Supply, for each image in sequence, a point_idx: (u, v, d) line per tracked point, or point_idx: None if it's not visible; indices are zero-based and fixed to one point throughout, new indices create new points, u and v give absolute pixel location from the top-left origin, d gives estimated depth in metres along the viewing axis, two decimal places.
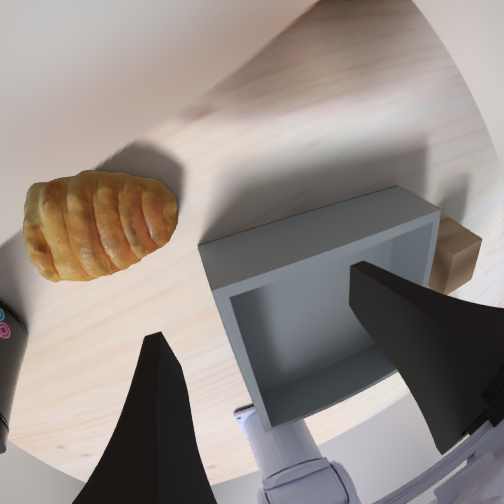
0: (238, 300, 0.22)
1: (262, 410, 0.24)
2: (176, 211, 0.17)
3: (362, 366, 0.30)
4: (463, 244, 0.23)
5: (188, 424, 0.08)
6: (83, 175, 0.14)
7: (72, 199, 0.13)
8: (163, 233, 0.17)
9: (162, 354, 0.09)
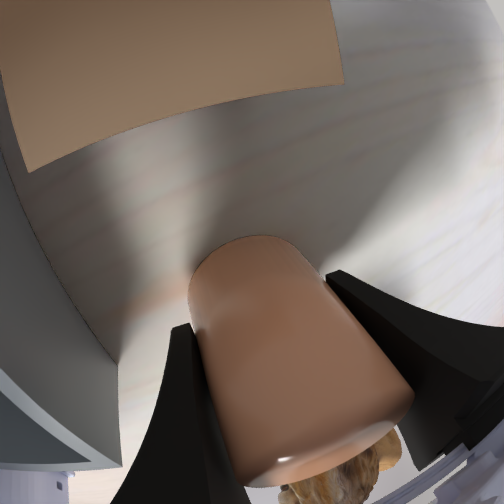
0: None
1: None
2: None
3: None
4: None
5: None
6: None
7: None
8: None
9: (193, 345, 0.09)
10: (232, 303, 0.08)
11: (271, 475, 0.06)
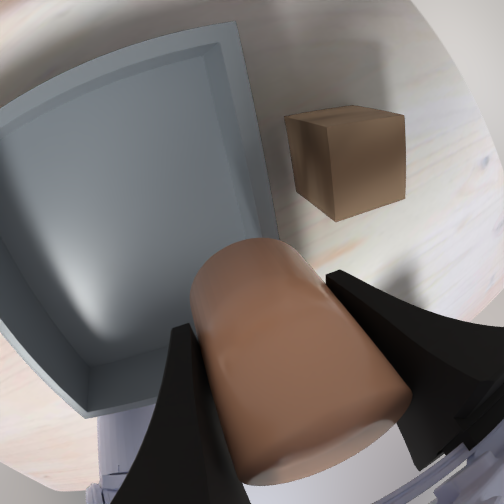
0: (1, 216, 0.13)
1: (47, 378, 0.14)
2: None
3: None
4: (357, 119, 0.13)
5: (217, 416, 0.09)
6: None
7: None
8: None
9: (193, 345, 0.09)
10: (229, 309, 0.08)
11: (273, 474, 0.06)
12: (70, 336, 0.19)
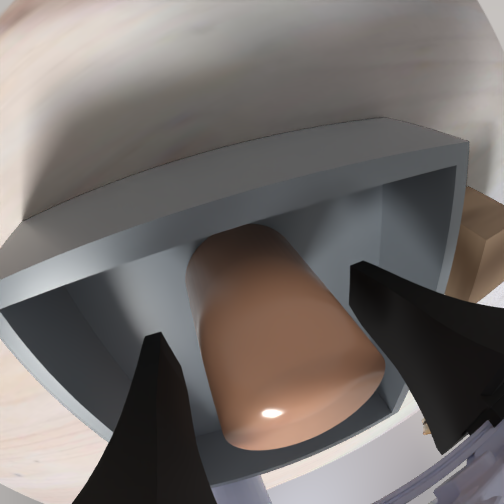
0: (98, 313, 0.12)
1: None
2: None
3: None
4: (497, 224, 0.12)
5: (188, 424, 0.08)
6: None
7: None
8: None
9: (162, 354, 0.09)
10: (216, 285, 0.10)
11: (258, 435, 0.08)
12: None
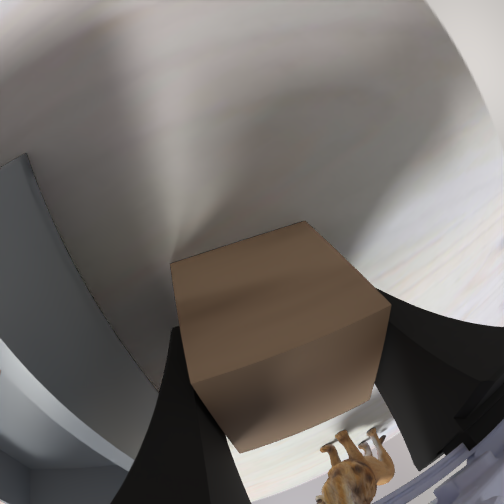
0: None
1: None
2: None
3: None
4: (276, 336, 0.07)
5: None
6: None
7: None
8: None
9: None
10: None
11: None
12: (3, 449, 0.12)
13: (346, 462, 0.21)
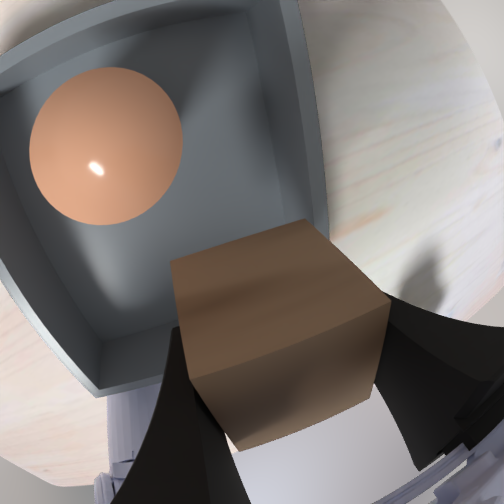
0: (18, 165, 0.12)
1: (56, 347, 0.14)
2: None
3: None
4: (275, 331, 0.07)
5: None
6: None
7: None
8: None
9: None
10: None
11: (61, 181, 0.08)
12: (83, 304, 0.18)
13: None
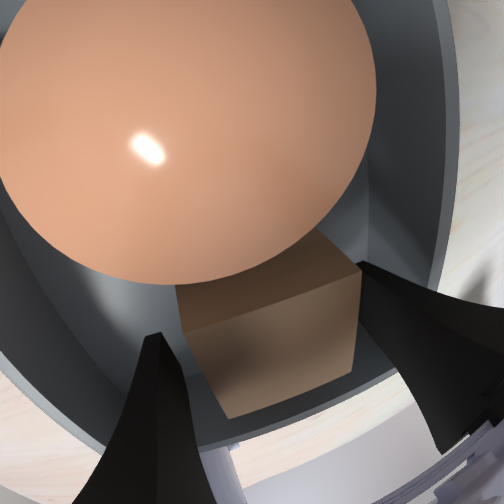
0: None
1: (67, 423, 0.09)
2: None
3: None
4: (259, 294, 0.08)
5: (188, 424, 0.08)
6: None
7: None
8: None
9: (162, 354, 0.09)
10: None
11: (66, 176, 0.03)
12: (96, 352, 0.13)
13: None
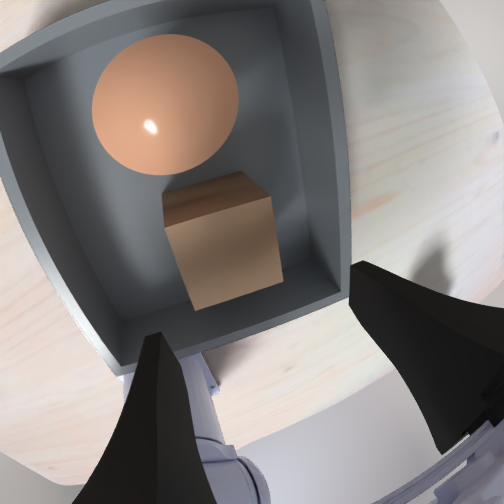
0: (51, 137, 0.13)
1: (81, 319, 0.14)
2: None
3: (279, 288, 0.21)
4: (208, 209, 0.14)
5: (188, 424, 0.08)
6: None
7: None
8: None
9: (162, 354, 0.09)
10: None
11: (122, 132, 0.09)
12: (106, 281, 0.19)
13: None
